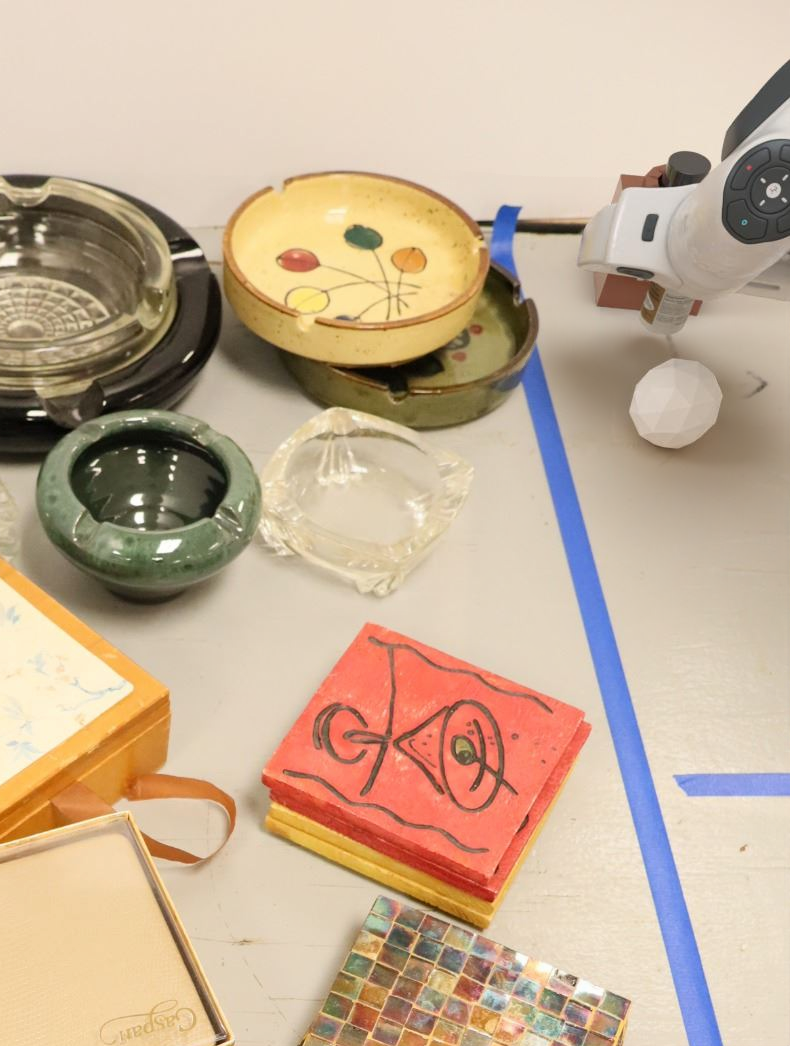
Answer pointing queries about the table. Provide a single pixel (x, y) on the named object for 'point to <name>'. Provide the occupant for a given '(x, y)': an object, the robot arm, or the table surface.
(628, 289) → the dispenser
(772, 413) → the table surface
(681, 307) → the pill bottle
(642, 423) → the geometric ball
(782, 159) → the robot arm
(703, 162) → the cylinder
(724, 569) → the table surface
